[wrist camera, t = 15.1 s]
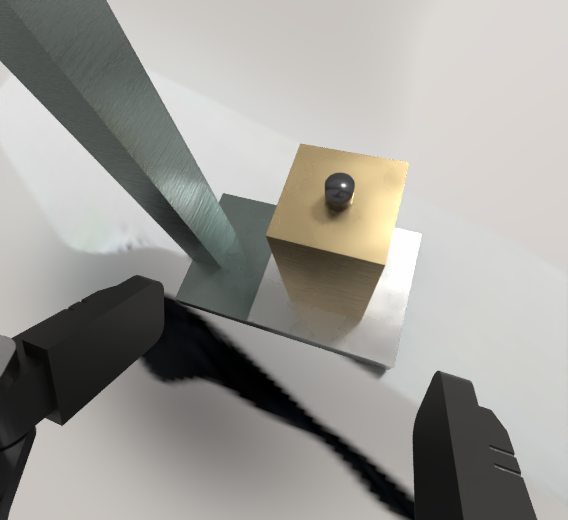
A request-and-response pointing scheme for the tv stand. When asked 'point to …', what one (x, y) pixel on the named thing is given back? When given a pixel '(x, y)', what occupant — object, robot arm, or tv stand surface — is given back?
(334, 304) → the block
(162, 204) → the arbor press
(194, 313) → the tv stand surface
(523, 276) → the tv stand surface
